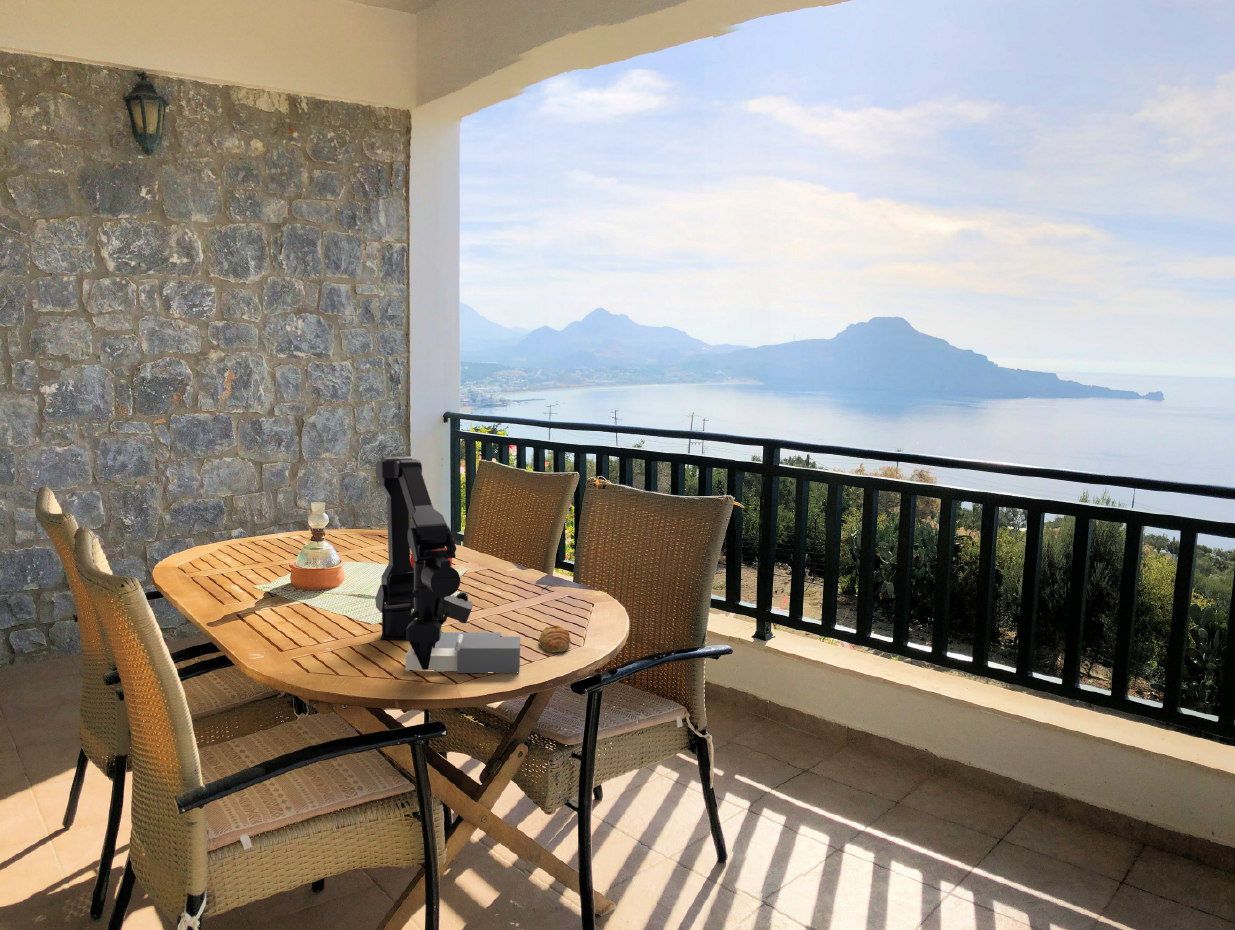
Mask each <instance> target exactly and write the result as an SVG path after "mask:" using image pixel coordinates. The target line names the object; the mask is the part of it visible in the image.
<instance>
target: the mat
mask: <svg viewBox="0 0 1235 930" xmlns="http://www.w3.org/2000/svg"><path fill="white" fill-rule="evenodd" d="M459 634H462V635H463V637H502V632H492V631H491V632H480V631H479V632H475V631H474V632H471V631H470V632H459V631H458V632H454V631H453V632H451V631H450V632H444V631H443V632H442V631H441V637H440V640H439V641H438V642H436V645H435V648H455V646H456V642H457V639H458V635H459Z"/></svg>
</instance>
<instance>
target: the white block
mask: <svg viewBox="0 0 1235 930" xmlns="http://www.w3.org/2000/svg"><path fill="white" fill-rule="evenodd" d="M457 653H458V651H456V650H455V648H432V653H431V658H430V663H429V668H428V669H427V670H434V671H433V672H444V671H457ZM405 670H423V669H422V667H421V665H420V663H419V661H418V659H417V656H416V654H415V652H414V650H413V648H412V647H409V649H408V650H407V652H406V654H405ZM435 670H436V671H435Z"/></svg>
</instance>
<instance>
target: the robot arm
mask: <svg viewBox="0 0 1235 930" xmlns="http://www.w3.org/2000/svg"><path fill="white" fill-rule="evenodd" d="M375 475H376V478H377V479H378V486H379V488H380V489H381V491H382V492H383V494H384V495H385V497H386V507H387V508H386V510H387V511H386V513H387V514H386V515H387V518H386V519H387V545H388V546H387V548H388V549H387V550H388V564H387V566H386V568H385V569H384V572H383V573H382V575H381V579H380V580H381V581H380V582H381V584H380V585H379V588H378V589H377V593H376V596H375V599H374V600H375V608H376V609H377V610H378V611H379V612H380V613H381V617H382V618H381V635H380V636H379V637H380V638H379V639H380V640H406V641H407V642H408V643H409V644H410V646H411V648H413V650H414V652H415V654H416V656H417V659H418V661H419V663H420V665H421V667H422V669H423V670H427V669H428V668H429V663H430V658H431V653H432V648H435V645H436V642H438V641H439V640H440V637H441V632H442V625H444V623H445V622H447V620H448V618H450V619H452V620H456V621H458V622H459V623H460V624H467V622H468V621H469V618H470V615H471V612H472V609H473V607H474V603H472V602H473V601H471V600H470V601H469V593H467V592H464V591H460V592H459V593H458V594H456V595H454V594H455V593H457V591H458V589H459V588H460V586H461V576H460V574H459V572H458V571H457V570H456V569H455V568H454V567H451V566H450V560H448V558H452V559H456V558H457V557H456V552H457V551H456V550H457V547H456V546H457V545H456V543H455V539H454V537H453V533H452V531H451V528H450V526H449V525H448V524H447V522H446V519H445V517H444V515H443V514H441V513H440V512H439V511H437V510H436V509H435V508H434V506H433V503H432V501H431V497H430V494H429V492H428V488H427V485H426V482H425V479H424V476H423V466H422V462H421V460H417V459H415V458H414V459H413V457H412V456H411V455H397V456H395V455H390V456H381V458H380V461H377V462H376V463H375ZM444 548H446V549H447V550H442V549H444ZM432 550H437V551H432ZM411 555H413V558H414V568H413V567H412V565H411V563H410V562H411V561H410V560H411Z"/></svg>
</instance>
